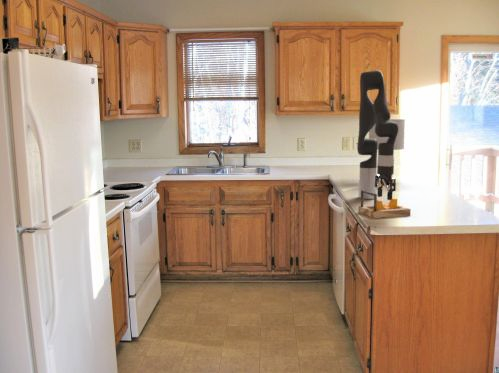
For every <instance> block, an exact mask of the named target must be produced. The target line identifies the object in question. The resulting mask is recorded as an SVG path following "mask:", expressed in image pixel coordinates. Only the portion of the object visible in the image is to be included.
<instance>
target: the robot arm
mask: <svg viewBox="0 0 499 373" xmlns="http://www.w3.org/2000/svg"><path fill="white" fill-rule="evenodd" d="M359 77H360V78H359V89H360V90H359V96H360V99H359V116H358V117H359V118H358V121H359V122H358V127H359V128H358V138H357V144H356V147H357V148H356V149H357V153H358V155H360V156H370V157H369V158H367V159H365V160H363V161H360V162H359V180H358V197H359V199H361V190H364V191H367V192H370V193H373V194H377V198H378V197H379V198H382V197H383V187H384V188H385V189H386V192H387V195H386V196H387V197H386V200H388V201H390V200H392V198H393V192H396V191H397V190H396V189H397V187H396V186H397V185H396V184H397V180H396V178H393V177H392V178H391V175H392V176H393V175H394V173H395V172H394V171H395V167H394V166H395V165H394V164H395V158H394V153H395V150H394V144H395V140H396V137H397V134H398V125H397V123H395V122H387V121H388V120H389V119H391V112H390V109H389V105H388V102H387V94H386V93H387V92H386V85H385V78H384V75H383V72H382V71H381V70H369V71H364V72H361V73H360V76H359ZM373 90H378V93H377V96H376V97H375V99H374V101H372V99H371V97H369V94H368V91H373ZM374 125H375V133H376V135H377V136H378V137H389V138H388V140H387V141H385V142H381V143H379V146H378V142H377V139H373V138H369V137H368V138H366V136H367V134H369V131H370V130H371V129H372V128H373V126H374ZM377 149H378V150H377ZM363 200H374V196H373V195H369V194H366V193H363Z"/></svg>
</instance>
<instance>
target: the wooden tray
mask: <svg viewBox="0 0 499 373" xmlns="http://www.w3.org/2000/svg"><path fill="white" fill-rule="evenodd" d="M363 193H366V194H369V195H373V196H374V199H373V204H371V205H368V204H367V205H364V199H363ZM377 200H378V196H377V193H376V194H373V193H370V192H367V191H364V190H361V198H360V205H359V206H358V213H360V214H362V215H365V216H367V217H370V218H372V217H373V219H381V218H382V217H385V218H393V217H394V218H396V217H404V216H405V217H407V216H411V210H412V209H411V208H408V207H405V206H403V205H398V204H397V209H387V210H376V208H377ZM382 204H383V206H384V205H387V204H388V203H382ZM382 219H383V218H382Z"/></svg>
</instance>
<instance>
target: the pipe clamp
mask: <svg viewBox="0 0 499 373" xmlns="http://www.w3.org/2000/svg"><path fill="white" fill-rule="evenodd" d="M383 204H384V203H383V201H382V200H379V199H377V208H376V210H387V209H397V205H398V198H394V197H392V200H389V203H386V204H387V205H384V206H383Z"/></svg>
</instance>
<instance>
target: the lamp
mask: <svg viewBox="0 0 499 373" xmlns="http://www.w3.org/2000/svg"><path fill="white" fill-rule="evenodd" d="M387 122H395V123H397V125H398V134H397V137H396V140H395V144H394V151H397V150H398V151H399V150H404V149H405V124H406V123H405V122H406V120H405V119H399V118H398V119H396V118H395V119H394V118H393V119H391V118H390V119H389V120H388V121H387ZM368 138H373V139H377V142H378V146H379V143H381V142H385V141H387V140H388V138H389V137H378V136H377V135H376V133H375V125H374V126H373V128H372V129H371V130H370V131H369V132H368ZM377 151H378V149H377ZM391 178H393V175H391Z"/></svg>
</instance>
